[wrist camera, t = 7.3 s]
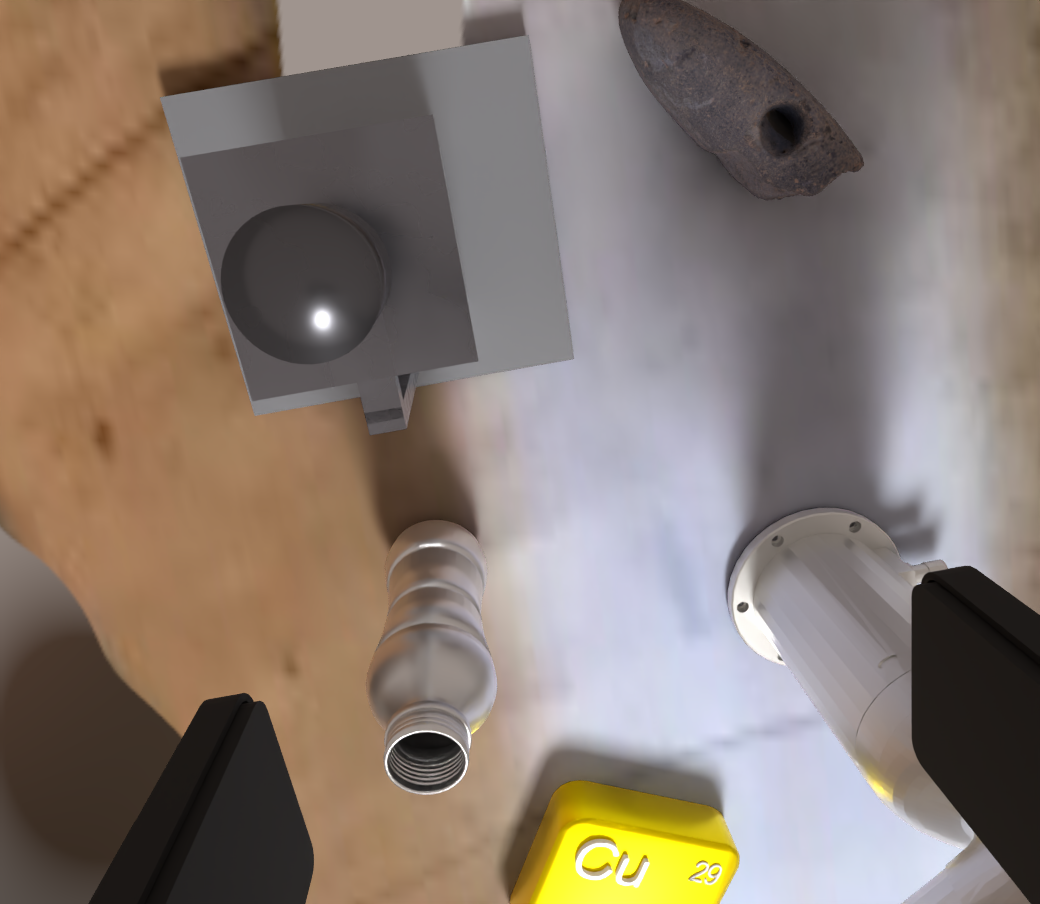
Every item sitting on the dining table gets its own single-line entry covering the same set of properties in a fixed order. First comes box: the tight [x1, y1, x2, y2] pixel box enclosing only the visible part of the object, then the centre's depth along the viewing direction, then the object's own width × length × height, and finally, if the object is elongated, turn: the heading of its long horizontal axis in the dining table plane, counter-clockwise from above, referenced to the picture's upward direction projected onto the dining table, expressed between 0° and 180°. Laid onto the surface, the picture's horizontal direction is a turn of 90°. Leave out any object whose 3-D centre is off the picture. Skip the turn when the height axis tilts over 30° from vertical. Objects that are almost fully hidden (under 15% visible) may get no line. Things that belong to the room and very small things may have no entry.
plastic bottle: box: [366, 520, 497, 795], centre depth 42 cm, size 6×7×20 cm
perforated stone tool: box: [619, 0, 864, 200], centre depth 40 cm, size 15×5×7 cm, turn 50°
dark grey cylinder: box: [221, 203, 392, 364], centre depth 30 cm, size 4×4×20 cm
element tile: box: [510, 780, 739, 904], centre depth 60 cm, size 15×15×5 cm
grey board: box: [160, 35, 574, 416], centre depth 43 cm, size 20×18×1 cm
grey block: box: [180, 115, 478, 435], centre depth 35 cm, size 9×12×17 cm
